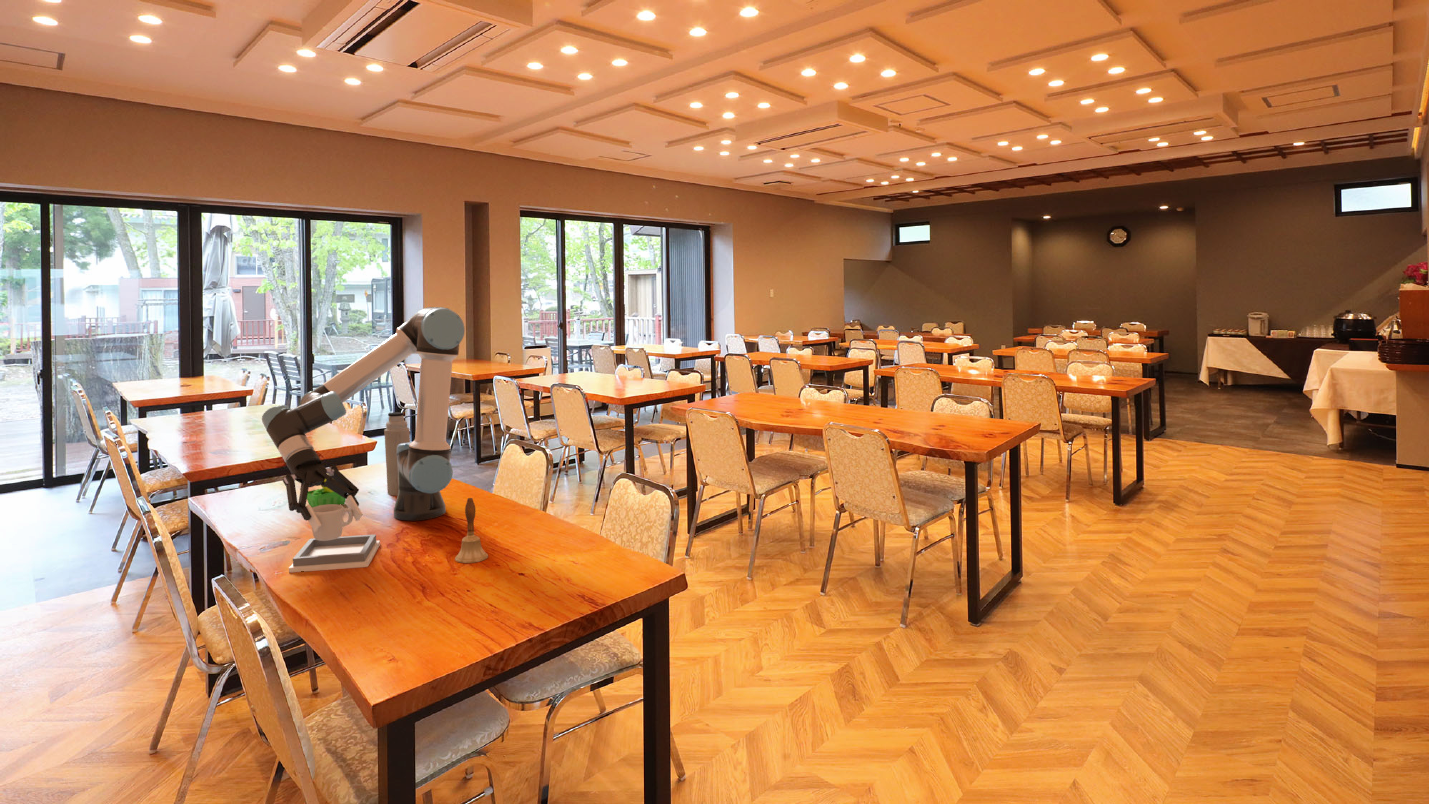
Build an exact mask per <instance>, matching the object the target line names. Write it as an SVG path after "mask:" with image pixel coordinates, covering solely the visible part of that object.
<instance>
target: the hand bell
mask: <svg viewBox="0 0 1429 804" xmlns="http://www.w3.org/2000/svg"><path fill="white" fill-rule="evenodd" d="M464 512H465V513H464V515H465V519H466V521H467V526H466V527H467V532H466V535H465V536H464V537H462V539H461V547H460V550H459V552H458V554H457V555H455V558H454V560H455V562H457V563H461V564H462V563H463V564H473V563H479V562H482V561H485V560H487V559H488V558H489V555H488V553H487V552H485V550H484V549H483V547H482V543H481V538H480V536H477V535H475V525H474V522H475V517H476V505H475V502H474V499H473V497H468V498H467V499H466V504H465V507H464Z"/></svg>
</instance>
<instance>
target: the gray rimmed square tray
mask: <svg viewBox="0 0 1429 804" xmlns="http://www.w3.org/2000/svg"><path fill="white" fill-rule="evenodd" d="M380 545H381V540H379V539H378V540H377V534H375V533H374V534H364V535H363V534H361V535H347V536H345V535H344V536H340V537H339V538H337V539H334V540H329V541H319V540H316V539H315V538H314V537H313V538H309V539H308V540H307V541H306V542H305V544H304V545H303V546H302V548H300V549H299V551H298V552H297V553H296V554H295V555H294V556H293V558H292V564H291V565H290V566H289V567H288V573H302V572H301V571H304V572H315V571H330V570H342V569H357V568H368V567H369V565H370V563H371V562H372V560H373V559H374V556H375V555H376V553H377V551H378V549H379V548H380Z"/></svg>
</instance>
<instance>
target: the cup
mask: <svg viewBox="0 0 1429 804" xmlns="http://www.w3.org/2000/svg"><path fill="white" fill-rule="evenodd" d="M311 508H312V507H311ZM312 509H313V511H314V513H315V515H316V516H317V518H318V520H319V521H320V523H321V527H320V528H319V530H318V531H317V532H314V530H313V528H312V527H311V530H312V536H313V538H315V539H316V540H319V541H329V540H334V539H337V538H339V537H342V534H343V528H344V527H347V526H349V525H350V524H352V522H353V520H354V517H353V512H352V510H351V509H349V508H348V507H344V506H343V504H342V505H337V504H328V505H320V506H316V507H313V508H312ZM345 513H348V514H347V515H348V518H347V520H346V521H344V515H345Z"/></svg>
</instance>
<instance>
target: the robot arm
mask: <svg viewBox="0 0 1429 804" xmlns="http://www.w3.org/2000/svg"><path fill="white" fill-rule="evenodd" d="M465 331H466V330H465V324H464V322H463V320H462V318H461V317H460V315H459V314H458V313H457V312H455V311H453V310H452V309H450V308H447V307H442V306H439V307H438V306H436V307H435V306H429V307H424V308H421V310H419V311H417V312H416V313H415V314H414V315H412V316H411V317H410V318H409V319H408V320H406V321H405V322H404V323H402V324H401V325H400V326H398V327H397V328H396V331H395V334H393V335H391V336H389V338H388V339H385V340H384V341H383V342H381V343H380V344H378V345H377V346H376V347H374V348H373V349H371V350H370V351H368V352H366V354H364V355H363V356H361V357H360V358H359V359H357V360H356V361H354V362H352V363H351V364H350V365H348V366H347V367H345V368H344V369H343V370H341V371H340V372H338V373H336V374H335V375H333V377H331V378H329V379H328V380H327V381H325V382H324V383H323V384H321V385H319V386H317V388H315V389H314V390H311V391H308V392H306V393H304V395H303V396H302V397H301V399H300V402H299V405H298V406H296V407H293V408H290V407H289V406H288V405H286V404H279V405H274V406H271V407H270V408H268V409H267V410H266V411H264V413H263V414H262V417H261V421H262V424H263V426H264V427H265V430H266V432H267V434H268V435H269V438H270V439H271V441H272V442H273V444H274V445H275V447H276V449H277V450H278V452H279V454H280V456H281V458H282V460H283V461H284V463H286V466H287V468H288V469H289V472H290V473H286V474H285V476H284V478H283V479H282V482H283V484H284V485H285V490H286V496H287V503H288V510H289V511H291V512H294V511H295V512H296V513H297V514H300V515H301V517H302V518H303V520H305V521H306V522H307V521H308V523H309V524H310V527H311V529H312V528H313V530H314V532H317V531H318V530H319V528H320V527H321V523H320V521H319V520H318V518H317V516H316V515H315V513H314V511H313V509H312V507H311V506H310V505H309V504H307V502H308V501H307V495H308V491H309V489H310V488H313V487H317V486H320V487H322V486H323V487H327V488H329V489H331V490H332V491H334V492H335V493H337V494H339V495H340V496H342V497H344V498H345V499H346V500H345V506H346V507H347V508H349V509H351V510H352V512H353V519H354V520H355V521H356V522H358V521H360V519H362V516H363V515H364V514H363V512H362V510H361V509H360V507H359V506H360V503H359V501H358V500H357V497H356V495H357V494H358V493H359V491H360V489H359V488H358V487H357V486H356V485H355V484H353V482H352V481H350V480H349V479H348V478H347V477H346V475H344V474H343V473H342V472H340V470H339V468H338V466H337V465H335V464H333V465H331V466H330V467H327V468H326V467H325V466H323V464H322V461H321V460H322V459H320V456H319V455H318V453H317V451H316V450H315V449H314V446H313V444H312V443H311V441H310V439H309V438H308V436H307V434H308V433H311V432H312V431H314V430H316V429H319V428H321V427H323V426H325V425H328V424H329V423H332V422H334V421H337V420H338V419H340V418H342V417H344V416H345V415H346V414H347V409H346V407H345V405H344V403H345V402H346V401H347V400H349V399H351V398H352V397H354V396H355V395H356V394H357V393H359V392H360V391H361V390H363V389H364V388H366V387H367V386H369V385H370V384H371V383H373V382H375V381H376V380H377V379H379V378H380V377H381V376H383V375H384V374H386V373H387V372H389V371H390V370H392V369H393V368H394V367H396V366H397V365H398V364H401V362H403V361H404V360H406V359H407V358H408V357H410V356H412V355H413V354H414V355H419V356H420V359H421V360H420V361H421V362H420V370H419V371H420V373H419V385H418V396H417V397H418V400H417V412H416V423H415V424H416V425H415V434H414V435H415V437H414V440H413V441H410V442H408V443H401V444H399V445H398V446H397V453H396V455H397V464H398V483H399V493H398V495H396V496H397V497H396V501H395V504H394V507H393V517H394V519H396V520H400V521H401V520H402V521H424V520H431V519H435V518H438V517H441V516H443V515H444V514H445V513H446V512H447V511H446V504H445V501H444V499H443V496H442V493H441V491H443V490H444V489H446V487H448V486H449V484H450V483H451V481H452V478H453V471H454V470H453V466H452V463H451V462H450V460H451V449H452V447H451V445H450V444H449V443H448V442H447V434H448V433H447V431H448V420H449V418H448V417H449V410H450V409H449V408H450V407H449V406H450V396H451V395H450V393H451V385H452V384H451V383H452V371H453V361H454V360H455V359H457V358H458V357H459V352H460V344H461V342H462V341H463V338H464V336H465ZM328 474H329V475H328ZM325 479H326V482H324V480H325ZM296 482H298V483H300V488H299V490H300V491H299V496H297V488H296ZM298 497H299V498H298Z"/></svg>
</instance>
